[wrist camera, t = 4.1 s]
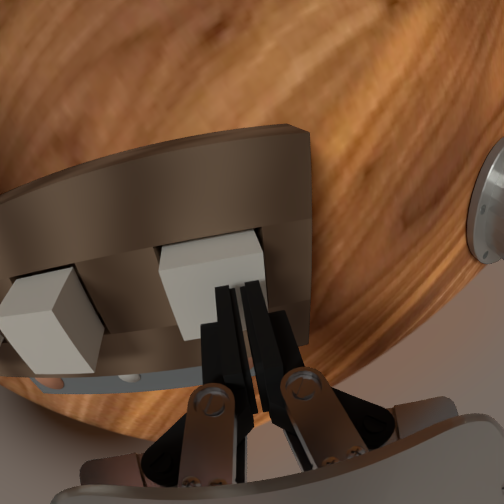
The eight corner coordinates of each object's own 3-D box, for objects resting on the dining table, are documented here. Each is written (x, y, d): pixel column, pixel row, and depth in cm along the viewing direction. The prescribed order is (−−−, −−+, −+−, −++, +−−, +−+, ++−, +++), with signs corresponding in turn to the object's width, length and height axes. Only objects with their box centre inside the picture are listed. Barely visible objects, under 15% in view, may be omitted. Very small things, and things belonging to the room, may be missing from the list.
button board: (286, 123, 13) (309, 132, 10) (294, 311, 19) (308, 344, 17) (-71, 233, 10) (-92, 254, 8) (-3, 349, 17) (-14, 374, 14)
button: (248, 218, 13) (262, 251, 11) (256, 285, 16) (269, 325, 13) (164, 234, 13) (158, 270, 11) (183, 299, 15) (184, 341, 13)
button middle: (72, 267, 11) (51, 310, 9) (104, 328, 14) (94, 373, 11) (16, 279, 11) (-8, 317, 9) (49, 334, 13) (35, 374, 11)
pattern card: (266, 327, 20) (268, 333, 19) (270, 368, 22) (271, 373, 22) (15, 357, 17) (14, 361, 17) (44, 390, 20) (43, 394, 20)
